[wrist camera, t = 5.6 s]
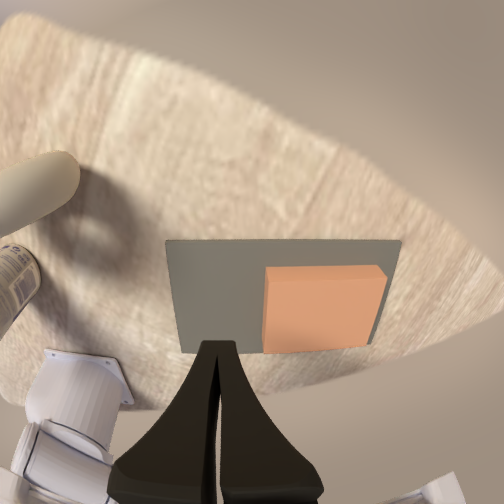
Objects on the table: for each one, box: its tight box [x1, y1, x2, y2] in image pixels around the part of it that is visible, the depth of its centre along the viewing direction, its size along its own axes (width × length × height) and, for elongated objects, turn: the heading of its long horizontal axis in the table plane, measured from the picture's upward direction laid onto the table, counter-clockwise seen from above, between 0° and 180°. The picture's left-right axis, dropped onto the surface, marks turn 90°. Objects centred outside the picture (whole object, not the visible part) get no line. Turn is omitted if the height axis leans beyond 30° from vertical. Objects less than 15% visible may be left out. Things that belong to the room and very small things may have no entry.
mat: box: [165, 239, 402, 354], centre depth 24 cm, size 18×11×1 cm, turn 89°
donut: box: [0, 151, 80, 238], centre depth 13 cm, size 10×3×10 cm, turn 97°
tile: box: [262, 265, 387, 354], centre depth 23 cm, size 2×7×9 cm
